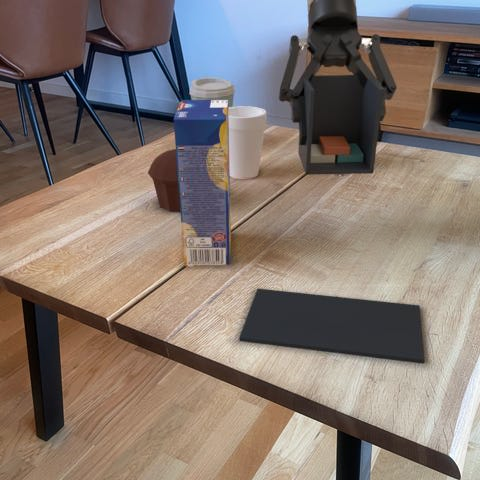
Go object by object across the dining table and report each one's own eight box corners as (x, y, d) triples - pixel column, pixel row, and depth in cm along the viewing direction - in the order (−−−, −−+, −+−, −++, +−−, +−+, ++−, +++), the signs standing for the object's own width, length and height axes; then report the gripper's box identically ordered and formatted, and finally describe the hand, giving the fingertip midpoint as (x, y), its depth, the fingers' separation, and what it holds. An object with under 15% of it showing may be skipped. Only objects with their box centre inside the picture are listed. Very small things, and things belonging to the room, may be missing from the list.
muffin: (153, 218, 100) (147, 164, 94) (148, 196, 109) (143, 145, 103) (218, 212, 102) (216, 158, 96) (208, 191, 111) (206, 140, 105)
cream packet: (304, 151, 91) (305, 144, 90) (328, 151, 91) (329, 143, 90) (309, 163, 86) (309, 155, 85) (334, 162, 86) (335, 155, 85)
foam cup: (231, 185, 113) (230, 120, 106) (214, 171, 120) (212, 109, 113) (272, 178, 116) (274, 114, 109) (254, 165, 123) (254, 104, 116)
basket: (298, 153, 92) (301, 75, 86) (359, 152, 92) (367, 74, 86) (305, 174, 83) (310, 90, 77) (373, 173, 84) (383, 89, 77)
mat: (418, 310, 74) (419, 305, 74) (423, 365, 65) (424, 359, 64) (257, 293, 78) (257, 288, 78) (239, 342, 68) (239, 337, 68)
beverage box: (230, 236, 93) (228, 99, 81) (229, 268, 84) (226, 119, 72) (190, 236, 93) (181, 99, 81) (184, 268, 84) (173, 119, 72)
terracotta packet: (318, 143, 90) (318, 136, 90) (342, 143, 90) (343, 135, 90) (323, 155, 85) (324, 147, 85) (349, 154, 85) (350, 147, 85)
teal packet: (331, 150, 91) (331, 143, 90) (355, 150, 91) (356, 143, 90) (337, 162, 86) (338, 155, 85) (363, 162, 86) (363, 154, 85)
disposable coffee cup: (245, 146, 135) (245, 80, 127) (213, 157, 129) (211, 88, 120) (214, 138, 141) (212, 74, 133) (183, 147, 135) (178, 81, 126)
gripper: (397, 25, 91) (408, 150, 86) (258, 28, 90) (262, 153, 86) (411, -10, 83) (424, 125, 79) (260, -8, 83) (265, 128, 79)
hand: (339, 140), depth 83 cm, fingers closed on basket, 10 cm apart
